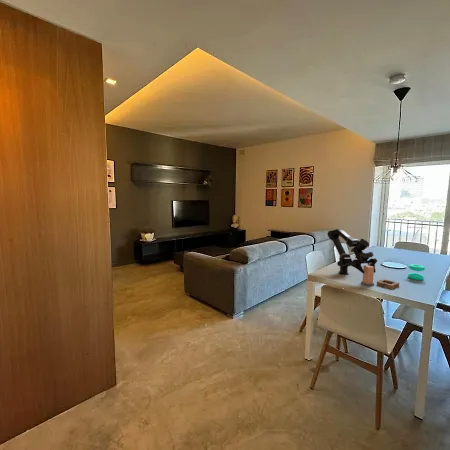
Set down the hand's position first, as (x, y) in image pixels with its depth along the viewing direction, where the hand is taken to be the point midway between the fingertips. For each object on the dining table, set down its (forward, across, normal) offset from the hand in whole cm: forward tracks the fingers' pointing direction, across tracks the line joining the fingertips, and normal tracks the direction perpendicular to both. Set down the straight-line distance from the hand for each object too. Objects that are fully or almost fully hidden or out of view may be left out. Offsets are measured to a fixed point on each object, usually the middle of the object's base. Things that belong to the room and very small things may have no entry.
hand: (369, 272), depth 182 cm
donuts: (+3, +46, +9) cm, 47 cm away
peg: (+5, 0, +6) cm, 8 cm away
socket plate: (+9, +12, +3) cm, 15 cm away
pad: (+5, 0, +7) cm, 9 cm away
